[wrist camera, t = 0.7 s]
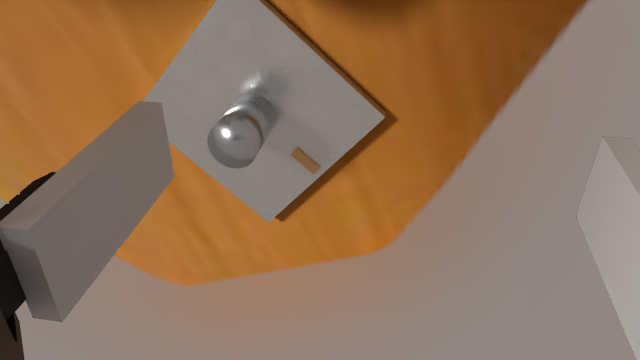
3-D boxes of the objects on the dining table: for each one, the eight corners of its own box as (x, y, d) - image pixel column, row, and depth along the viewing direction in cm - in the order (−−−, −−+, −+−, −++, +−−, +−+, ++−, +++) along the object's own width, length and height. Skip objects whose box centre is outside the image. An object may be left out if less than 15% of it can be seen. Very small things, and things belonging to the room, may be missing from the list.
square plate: (139, 108, 42) (99, 142, 37) (238, -26, 35) (205, -8, 30) (271, 215, 45) (251, 260, 40) (386, 111, 38) (379, 149, 33)
